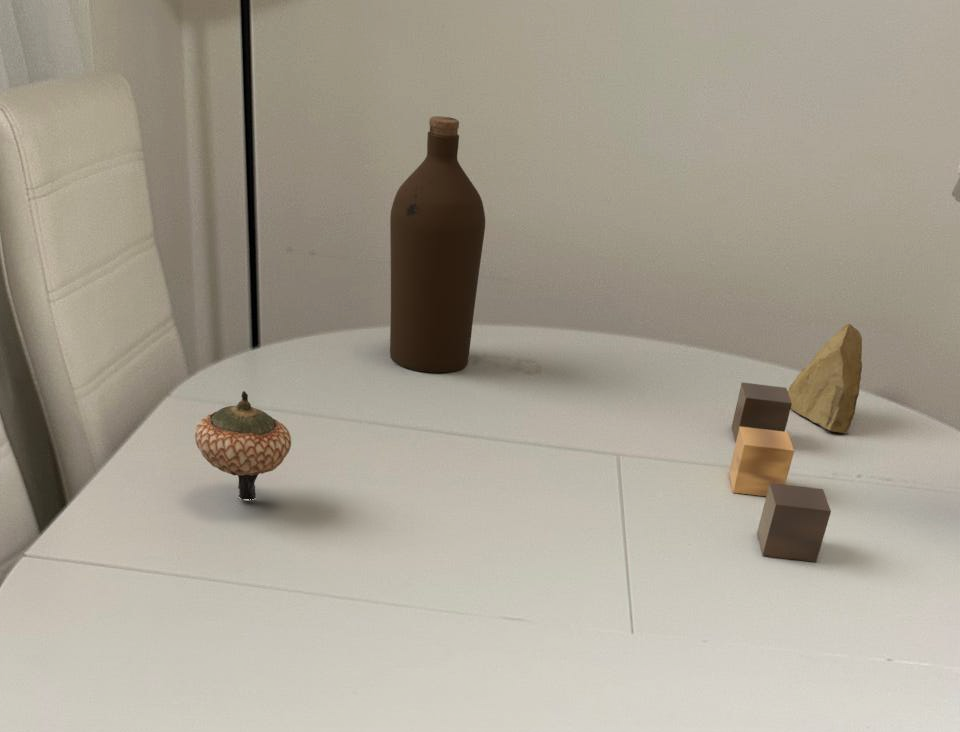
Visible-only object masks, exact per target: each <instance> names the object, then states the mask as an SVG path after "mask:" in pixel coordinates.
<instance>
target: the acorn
mask: <svg viewBox="0 0 960 732" xmlns="http://www.w3.org/2000/svg"><path fill="white" fill-rule="evenodd" d="M248 397H249V395H248V394H247V392H246V391H245V390H243V391H242V392H241V400H240V401H239V402H238V403H237V405H227V406H225V407H222V408H220V409H218V410H217V411H214V412H212V413H210V414H208V415H207V416H205V417H204V418H202V419H201V420H200V421H198V423H197V424H196V426H195V429H194V439H195V444H196V447H197V448H198V450H199V451H200V453H201V455H202V457H203V458H204V459H205V460H206V461H207V462H208V463H209V464H210V465H211V466H212V467H214V468H217V469H218V470H219V471H221V472H223V473H226V474H229V475H232V476H237V477H238V487H237V488H238V490H239V491H238V492H239V493H238V496H239V497H240V498H241V500H243V499H249V500H250V499H251V501H253V500H252V499H254V498H256V499H257V493H256V486H255V485H256V484H255V482H256V480H257V478H258V476H259V475H260V474H261V475H263V474H265V473H269V472H273V471H274V470H276V469H277V468H278V467H279V466H281V464H282V463H283V462H284V461H285V458H286V457H287V456H288V454H289V453H290V450H291V447H292V436H291V432H290V431H289V429H288V428H287V426H286V425H284V424H283V423H282V422H280V421H278V420H277V419H275V418H274V417H272V416H271V415H269V414H268V413H267V412H265V411H264V410H261V409H259V408H255V407H253V406H252V404H251V403H250V401H249V399H248ZM240 498H239V499H240ZM254 500H255V499H254Z"/></svg>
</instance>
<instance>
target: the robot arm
mask: <svg viewBox="0 0 960 732" xmlns="http://www.w3.org/2000/svg"><path fill="white" fill-rule="evenodd" d="M957 168H958V169H957V172H958V175H959V176H960V161H959V162H958V167H957ZM951 197H952V198H953V200H955V201H956V202H958V203H960V177H959V178H958V180H957V182H956V183H955V186H954V187H953V189H952V192H951Z"/></svg>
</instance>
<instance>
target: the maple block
mask: <svg viewBox="0 0 960 732" xmlns="http://www.w3.org/2000/svg"><path fill="white" fill-rule="evenodd" d="M794 453H795V449H794V446H793V442H792V440H791V437H790V434H789V432H788V431H785V432H783V431H775V430H766V429H758V428H749V427H741V426H740V427H739V431H738V435H737V439H736V443H735V445H734V449H733V454H732V456H731V461H730V466H729V470H728V477H729V480H730V485H731V490H732V493H734V494H741V495H750V496H759V497H766V496H767V492H768V488H769V484H770V483H776V484H785V485H787V480H788V476H789V474H790V473H789V472H790V469H791V465H792V461H793V457H794V455H795V454H794Z"/></svg>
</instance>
